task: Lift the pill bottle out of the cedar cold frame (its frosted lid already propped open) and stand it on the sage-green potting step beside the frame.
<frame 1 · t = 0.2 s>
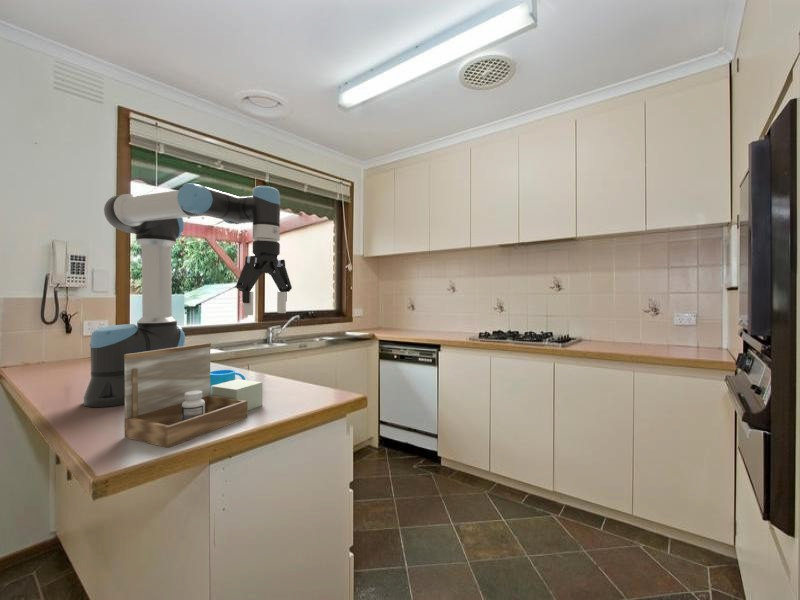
hand: (265, 314, 113), 28 cm above the countertop, fingers open, 13 cm apart
cold frame: (190, 426, 98), on the countertop
mug: (227, 396, 128), on the countertop
pill bottle: (193, 427, 98), resting in cold frame
potting step: (237, 407, 115), on the countertop
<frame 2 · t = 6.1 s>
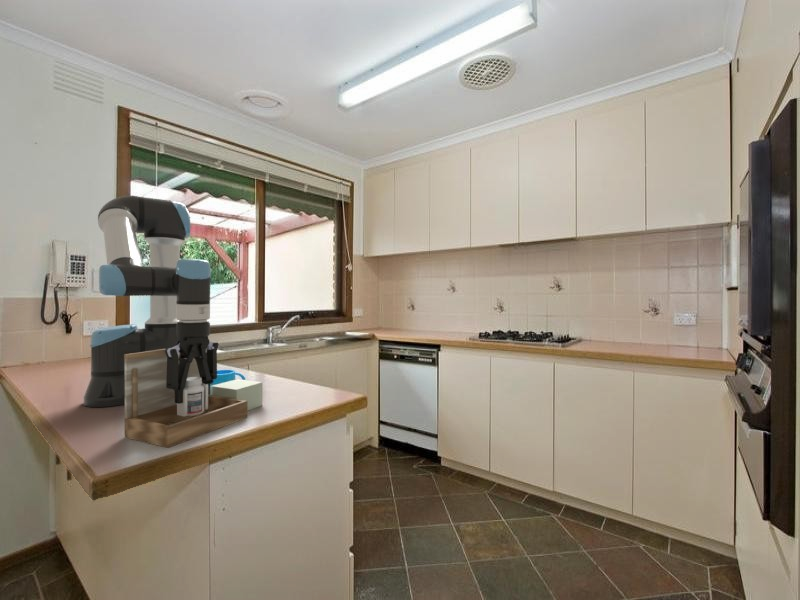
hand: (192, 411, 98), 4 cm above the countertop, fingers closed on pill bottle, 5 cm apart
pill bottle: (192, 413, 98), point 3 cm above the countertop, touching gripper
everything else where it was.
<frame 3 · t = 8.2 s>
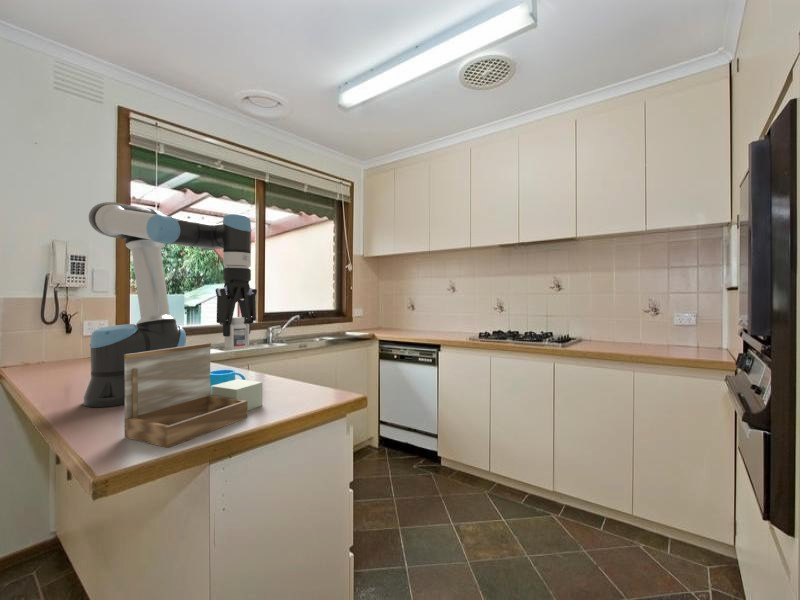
hand: (237, 346, 114), 18 cm above the countertop, fingers closed on pill bottle, 5 cm apart
pill bottle: (237, 348, 114), point 18 cm above the countertop, touching gripper
everything else where it was.
when the fingers open (8 cm above the countertop, at t = 10.3 s): pill bottle stays where it is, resting on potting step.
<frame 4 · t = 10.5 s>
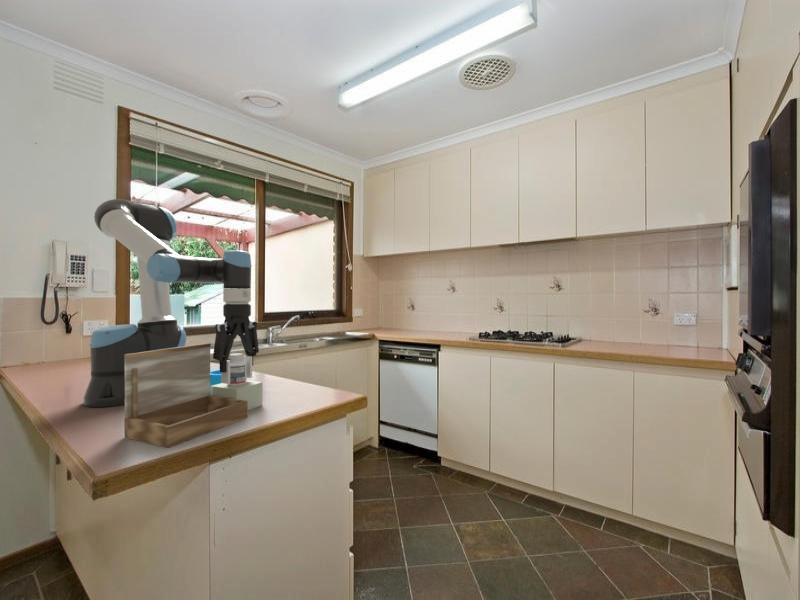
hand: (237, 380, 115), 8 cm above the countertop, fingers open, 8 cm apart
pill bottle: (236, 384, 115), point 7 cm above the countertop, touching potting step
everything else where it was.
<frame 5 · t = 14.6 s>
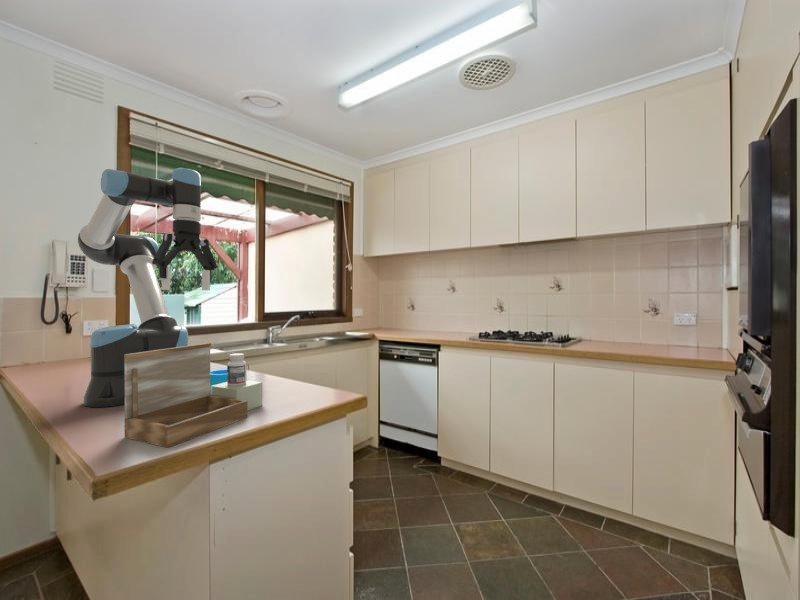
hand: (187, 290, 119), 35 cm above the countertop, fingers open, 13 cm apart
nothing on the countertop moved.
at the end: pill bottle inside the target area on the potting step (0.1 cm from its centre), point 6.8 cm above the potting step's base; pill bottle tilted 0°; the gripper is holding nothing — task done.
